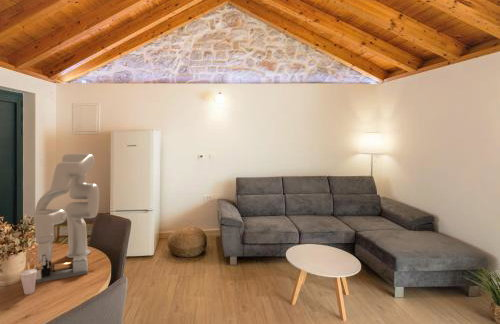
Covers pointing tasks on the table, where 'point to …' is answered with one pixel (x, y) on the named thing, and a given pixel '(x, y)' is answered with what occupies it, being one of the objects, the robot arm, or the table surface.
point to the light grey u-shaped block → (38, 272)
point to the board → (60, 275)
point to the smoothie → (28, 280)
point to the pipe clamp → (31, 266)
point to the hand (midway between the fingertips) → (47, 273)
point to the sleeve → (79, 264)
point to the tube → (59, 267)
